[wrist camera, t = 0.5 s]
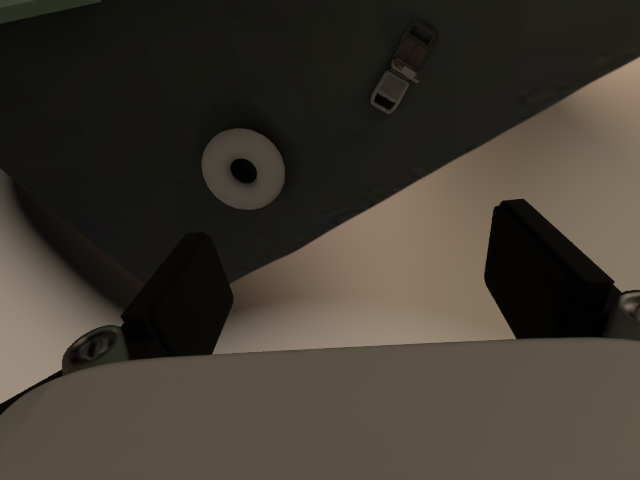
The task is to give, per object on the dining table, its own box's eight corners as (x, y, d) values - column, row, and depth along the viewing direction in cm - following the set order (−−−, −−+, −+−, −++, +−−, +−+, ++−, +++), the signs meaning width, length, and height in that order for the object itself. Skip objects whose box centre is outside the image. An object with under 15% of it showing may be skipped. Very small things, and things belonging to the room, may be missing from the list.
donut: (245, 106, 37) (190, 160, 41) (237, 111, 34) (179, 170, 38) (303, 172, 41) (248, 216, 44) (301, 182, 38) (242, 229, 41)
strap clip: (390, 114, 36) (395, 123, 33) (367, 101, 36) (370, 108, 32) (438, 34, 32) (451, 34, 29) (413, 17, 32) (422, 15, 28)
